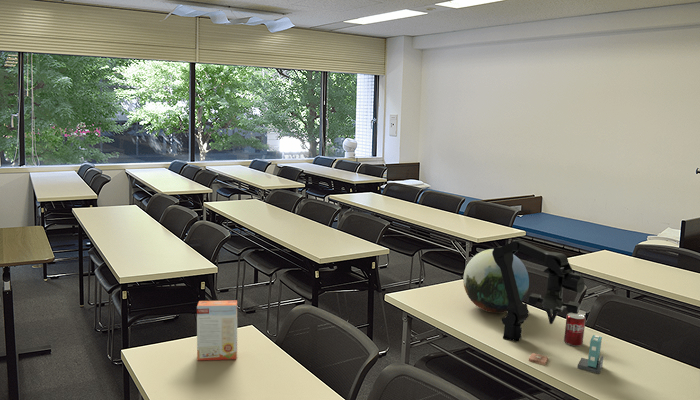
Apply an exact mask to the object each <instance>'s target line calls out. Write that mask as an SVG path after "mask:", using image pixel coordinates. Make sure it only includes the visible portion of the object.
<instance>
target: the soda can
mask: <svg viewBox="0 0 700 400" xmlns="http://www.w3.org/2000/svg"><path fill="white" fill-rule="evenodd" d="M585 326H586V316H584V315H583V314H581V313H579V312H578V313H577V314H575V313H570V312H568V313H567V314H566V318H565V328H564V334H563V335H564V336H563V342H564V343H565V344H566V345H568V346H572V347H581V346H582V345H583V343H584V335H585Z"/></svg>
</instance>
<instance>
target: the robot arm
mask: <svg viewBox="0 0 700 400" xmlns="http://www.w3.org/2000/svg"><path fill="white" fill-rule="evenodd" d="M493 249H494V250H493V251H492V255H493V258H494V260H495V263H496V264H497V265H498V266H499V267H500V269H501V274H502V278H503V282H504V286H505V290H506V294H507V298H508V306H507V312H506V314H507V315H505V316H504V317H502V318H501V323H502V325H504V328H503V336H502V339H504V340H508V341H512V342H513V341H514V342H519V341H520V340H521V338H522V333H523V327H522V324H524V323H525V321H527V320H528V318H529V313H530V311H529V309H528V304H530V305H537V304H538V303H541V304H542V306H541V308H542V309H544V310H545V312H546V314H547V318H548V322H549V325H553V324H554V322H555V320H556V318H557V316H558V314H559V313H562V312H563V310H564V309H565V310H566V311H567V312H568V313H575V314H577V313H578V314H579V312H580V310H581V304H580V302H576V301H571V300H569V301H568V302H564V298H563V291H564V290H568V291H570V292H574V293H577V294H582V292H583V291H584V289H585V287H586V283H585V279H584V278H583V277H584V276H583V274H578V273H574V270H573V268H572V266H571V265H570V263H569V259H568V257H567V255H566V254H564V253H561V252H555V251H548V250H546V249H543V248H540V247H538V246H536V245H533V244H531V243H528V242H526V241H524V240H523V239H515V240H512V241H511V242H509V243H507V244H505V245H502V246H501V245H499V246H496V247H494V248H493ZM517 252H520V253H521V254H524V255H527V256H529V257H531V258H534V259H535V260H539V261H540V262H542V264H543V265H544V266H545V267H547V268H546V269H543V271H542V272H543V273H546V274H547V275H548V278H547V285H546V286H547V288H546V290H545V294H544V297H542V294H537V293H535V292H534V293H533V292H532V293H530V295H528V297H527V300H526V303H525V302H523V301H521V300H520V297H519V292H518V288H517V284H516V280H515V276H514V272H513V268H512V263H513V259H514V258H513V254H514V255H515V254H516V253H517Z"/></svg>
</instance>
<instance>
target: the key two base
mask: <svg viewBox="0 0 700 400" xmlns="http://www.w3.org/2000/svg"><path fill="white" fill-rule="evenodd" d="M604 357H605V356H604V355H603V354H602V355H600V357H599V362H598V365H597V367H596V368H595V367H591V366H587V365H588V358H584V357H581V358H580V360H579V361H578V364H577V369H579V370H583V371H587V372H590V373H594V374H597V375H600V373H601V371H602V369H603V363H604Z"/></svg>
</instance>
